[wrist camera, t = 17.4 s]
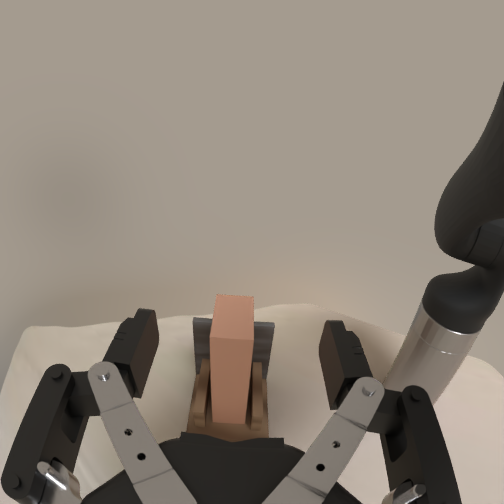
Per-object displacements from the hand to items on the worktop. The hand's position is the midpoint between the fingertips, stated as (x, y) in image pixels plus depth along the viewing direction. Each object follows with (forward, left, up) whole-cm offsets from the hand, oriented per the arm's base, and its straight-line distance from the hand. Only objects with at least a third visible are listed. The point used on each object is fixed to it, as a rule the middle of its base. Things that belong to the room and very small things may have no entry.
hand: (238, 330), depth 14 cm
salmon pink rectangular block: (-8, -11, -24) cm, 28 cm away
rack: (-8, -11, -26) cm, 29 cm away
